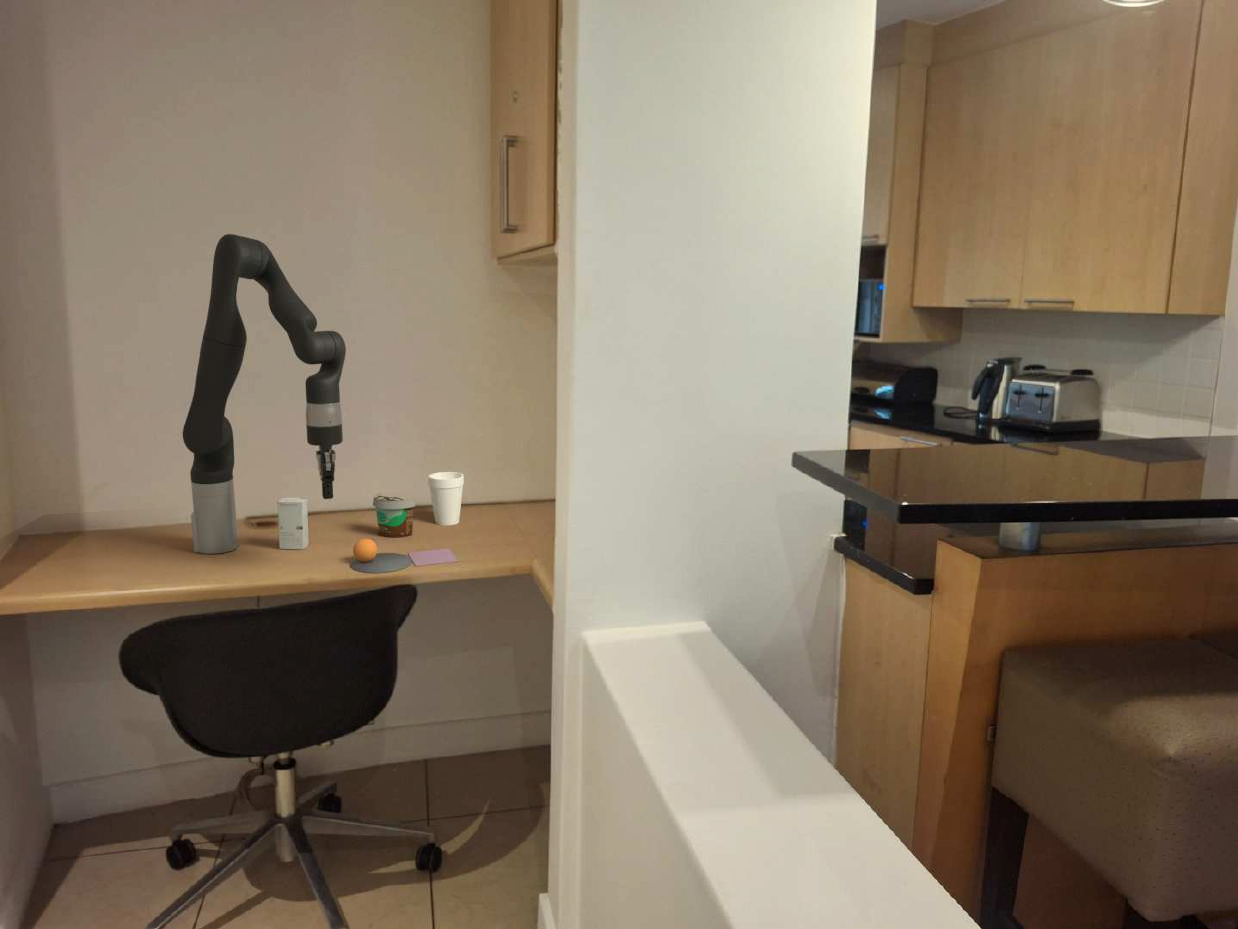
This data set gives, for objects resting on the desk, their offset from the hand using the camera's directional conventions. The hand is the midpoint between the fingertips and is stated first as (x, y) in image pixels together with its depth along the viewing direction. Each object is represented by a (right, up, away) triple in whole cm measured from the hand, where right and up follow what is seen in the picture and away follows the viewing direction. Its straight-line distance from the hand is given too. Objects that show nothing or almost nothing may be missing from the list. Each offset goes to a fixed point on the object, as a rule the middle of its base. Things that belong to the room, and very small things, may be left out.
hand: (327, 498), depth 200 cm
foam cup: (+19, -8, +42) cm, 47 cm away
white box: (-14, -13, +19) cm, 27 cm away
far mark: (+21, -15, +13) cm, 29 cm away
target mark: (+10, -16, +8) cm, 20 cm away
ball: (+6, -13, +8) cm, 16 cm away
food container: (+6, -11, +30) cm, 32 cm away
